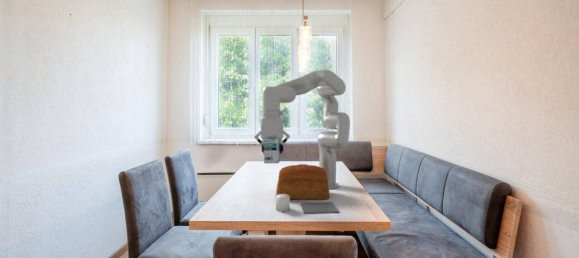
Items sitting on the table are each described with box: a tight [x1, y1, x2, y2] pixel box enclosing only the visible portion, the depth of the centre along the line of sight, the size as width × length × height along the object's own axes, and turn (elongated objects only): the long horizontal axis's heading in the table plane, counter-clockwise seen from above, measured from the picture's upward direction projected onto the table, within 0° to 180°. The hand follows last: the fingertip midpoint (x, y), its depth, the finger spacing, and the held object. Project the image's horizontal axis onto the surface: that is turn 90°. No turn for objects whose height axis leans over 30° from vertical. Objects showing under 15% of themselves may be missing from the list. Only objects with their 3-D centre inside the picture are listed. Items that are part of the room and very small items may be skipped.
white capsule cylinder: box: [275, 194, 291, 213], centre depth 119 cm, size 6×6×6 cm
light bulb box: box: [263, 139, 282, 164], centre depth 124 cm, size 11×7×11 cm, turn 177°
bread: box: [275, 163, 331, 200], centre depth 139 cm, size 16×27×16 cm, turn 89°
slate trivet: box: [299, 201, 340, 215], centre depth 121 cm, size 12×15×1 cm
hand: (272, 153), depth 124 cm, fingers closed on light bulb box, 7 cm apart
